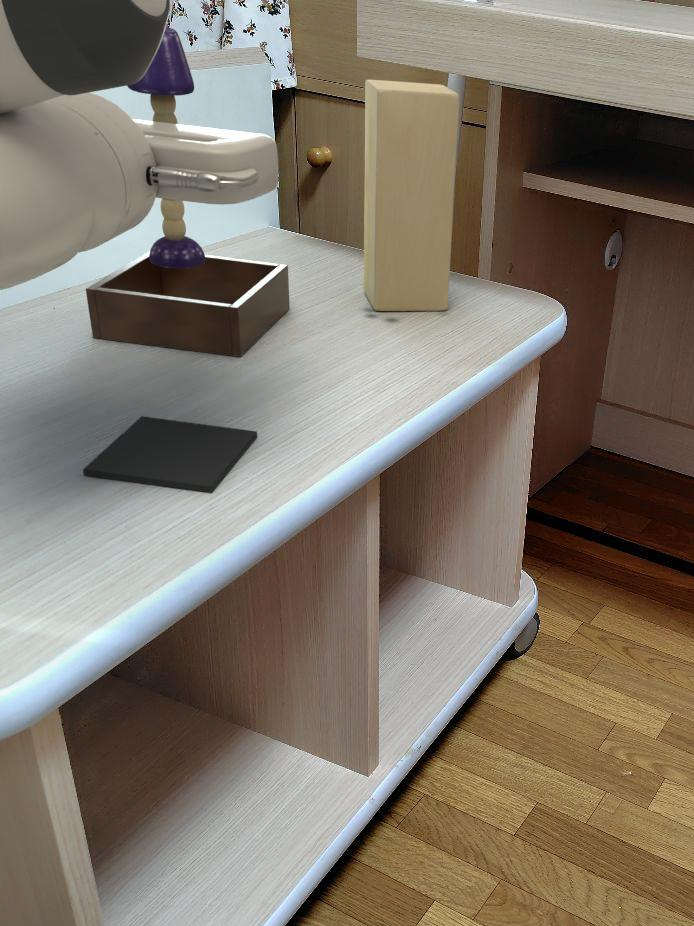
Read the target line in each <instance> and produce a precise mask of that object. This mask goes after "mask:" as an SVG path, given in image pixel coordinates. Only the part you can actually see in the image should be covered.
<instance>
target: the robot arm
mask: <svg viewBox="0 0 694 926" xmlns="http://www.w3.org/2000/svg"><path fill="white" fill-rule="evenodd" d="M170 10H171V1H170V0H0V291H4V290H7V289H10V288H13V287H16V286H19V285H21V284H24V283H27V282H29V281H31V280H35V279H37V278H39V277H41V276H44V275H45V274H47V273H50V272H52V271H54V270H57V268H59V267H61V266H63V265H65V264H67V263H68V262H69V261H71V260H72V259H74V257H76V255H77V254H78V253H79V254H80V253H84V252H87V251H90V250H93V249H96V248H98V247H100V246H102V245H103V244H105V243H107V242H110V241H112V240H113V239H114V238H117V237H118V236H120V235H122V234H124V233H126V232H128V231H130V230H132V229H134V228H135V227H137V226H138V225H140V223H142V222H143V221H144V220H145V219H146V217H147V216H149V213H150V212H151V210H152V209H153V206H154V204H155V201H156V198H157V199H162V198H163V199H172V200H180V201H183V202H188V203H197V204H207V205H236V204H241V203H245V202H249V201H251V200H254V199H257V198H259V197H262V196H264V195H267V194H269V193H271V192H273V191H275V190H276V189H277V187H278V184H279V155H278V147H277V142H276V141H275V139H274V138H273V137H271V136H270V135H267V134H264V133H258V132H257V133H256V132H248V131H239V130H231V129H222V128H221V129H220V128H214V127H205V126H204V127H203V126H197V125H187V124H179V123H178V124H171V123H163V122H154V121H153V120H144V119H135V118H132V117H131V116H130V115H129V114H128V113H127V112H126V111H125V110H124V109H122V107H120V106H118V105H117V104H115V103H114V102H112V101H111V100H108V99H107V98H105V97H103V96H102V95H98V94H96V92H99V91H104V90H110V89H115V88H121V87H127V85H132V84H135V83H137V82H138V81H140V80H141V79H142V78H143V76H144V75H145V73H146V72H147V70H148V68H149V67H150V65H151V63H152V61H153V59H154V57H155V55H156V53H157V51H158V48H159V46H160V44H161V41H162V38H163V35H164V32H165V29H166V27H167V24H168V20H169V15H170ZM94 92H95V93H94Z"/></svg>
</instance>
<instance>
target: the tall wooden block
mask: <svg viewBox="0 0 694 926" xmlns="http://www.w3.org/2000/svg"><path fill="white" fill-rule="evenodd" d="M364 87H365V88H364V89H365V90H364V93H365V95H364V96H365V97H364V98H365V99H364V107H365V108H364V202H363V203H364V204H363V208H364V213H363V218H364V219H363V226H364V227H363V292H364V294H365V296H366V298H367V299H368V301H369V304H370V305H371V307H372V308H373V310H374V311H376V312H377V311H378V312H396V311H397V312H401V311H402V312H403V311H404V312H406V311H407V312H408V311H411V312H413V311H415V312H417V311H418V312H419V311H424V312H425V311H428V312H429V311H434V312H435V311H438V312H439V311H447V310H448V308H449V295H450V293H449V291H450V274H451V257H452V242H453V241H452V240H453V239H452V238H453V222H454V205H455V203H454V201H455V184H456V168H457V167H456V166H457V153H458V152H457V151H458V150H457V148H458V133H459V131H458V130H459V115H460V113H459V112H460V95H459V94H458V93H457V92H456V91H454V90H453V89H451V88H449V87H447V86H446V85H444V84H439V83H438V84H436V83H424V82H423V83H422V82H410V81H398V80H397V81H396V80H383V79H382V80H380V79H366V80H365V86H364Z"/></svg>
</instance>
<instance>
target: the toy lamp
mask: <svg viewBox="0 0 694 926" xmlns="http://www.w3.org/2000/svg"><path fill="white" fill-rule="evenodd" d="M192 75H193V74H192V72H191V70H190V66H189V63H188V59H187V56H186V53H185V49H184V47H183V44H182V41H181V37H180V35H179V33H178V31H177V30H176V29H175V28H171V27H168V26H166V29H165V32H164V35H163V38H162V41H161V44H160V46H159V48H158V51H157V53H156V55H155V57H154V59H153V61H152V63H151V65H150V67H149V68H148V70H147V72H146V73H145V75H144V76H143V78H142V79H141V80H140V81H138V82H137V83H135V84H132V85H127V86H126V87H127V88H128V89H129V90H130V91H132V92H136V93H139V94H145V95H149V102H150V106H151V110H152V111H153V115H152V121H154V122H163V123H171V124H179V123H178V118H177V116H176V114H175V112H176V108H177V101H176V100H177V99H176V96H186V95H190V94H192V93H194V91H195V83H194V82H195V81H194V79H193V76H192ZM160 211H161V215H162V217H163V220H162V225H161V226H162V233H163V235H164V236H162V237H160V238H158V239H157V240H156V241H155V242H154V243H153V244H152V246H151V247H150V250H149V251H150V255H149V260H150V262H151V263H153V264H154V265H157V266H160V267H165V268H175V269H177V268H180V269H183V268H193V267H197V266H200V265H202V264H204V263H205V261H206V258H205V255H206V254H205V251H204V249H203V248H202V246H201V245H200V244H199V243H198V242H197V241H196V240H195V239H193V238H191V237H189V236H186V233H187V227H186V223H185V220H184V215H185V204H184V201H180V200H172V199H163V198H161V201H160Z"/></svg>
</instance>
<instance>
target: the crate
mask: <svg viewBox="0 0 694 926" xmlns="http://www.w3.org/2000/svg"><path fill="white" fill-rule="evenodd" d="M149 255H150V250H148V251H147V252H145V253H143V254H141V255H140V256H138V257H136V258H134V259H133V260H131V261H129V262H128V263H126V264H125V265H123V266H121V267H120V268H118V269H116V270H115V271H113V272H112V273H110V274H108V275H106V276H104V277H102V278H101V279H99V280H98V281H96V282H95V283H92V284H91V285H90V286H88V287H86V288H85V294H86V300H87V307H88V315H89V322H90V328H91V334H92V338H93V339H98V340H99V339H102V340H108V341H114V342H115V341H116V342H123V343H129V344H138V345H146V346H154V347H161V348H169V349H177V350H184V351H193V352H201V353H208V354H216V355H224V356H230V357H231V356H232V357H239V358H241V357H242V356H244V355H245V354H246V353H247V351H249V350H250V349H251V348H252V347H253V346H254V345H255V344H256V343H257V342H258V341H259V340H260V339H261V338H262V337H263V336H264V335H265V334H266V333H267V332H268V331H270V329H272V328H273V326H274V325H276V324H277V322H279V320H280V319H282V318H283V316H284V315H286V313H287V312H288V311H289V310H290V309H291V307H290V305H291V304H290V283H289V282H290V281H289V265H288V264H283V263H282V264H280V263H273V262H266V261H258V260H250V259H241V258H233V257H226V256H218V255H211V254H210V255H209V254H204V255H205V258H206V261H205V263H204V264H202V265H200V266H197V267H193V268H183V269H180V268H177V269H175V268H165V267H160V266H157V265H154V264H153V263H151V262H150V260H149ZM285 312H286V313H285Z"/></svg>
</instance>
